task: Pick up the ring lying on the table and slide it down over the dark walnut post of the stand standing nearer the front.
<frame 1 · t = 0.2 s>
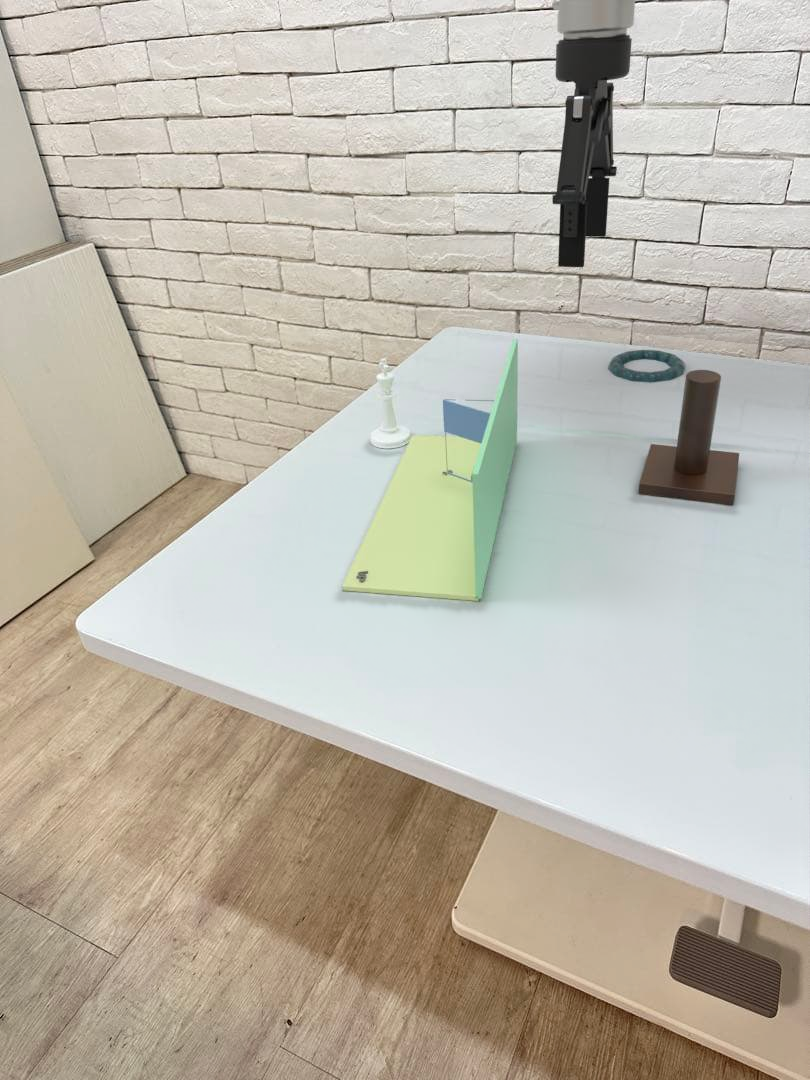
hand: (583, 250, 93), 18 cm above the table, tool pointing down, fingers open, 13 cm apart
ring: (646, 367, 105), point 1 cm above the table
stand: (689, 477, 83), on the table
display stand: (441, 508, 81), on the table
chess piece: (391, 440, 95), on the table
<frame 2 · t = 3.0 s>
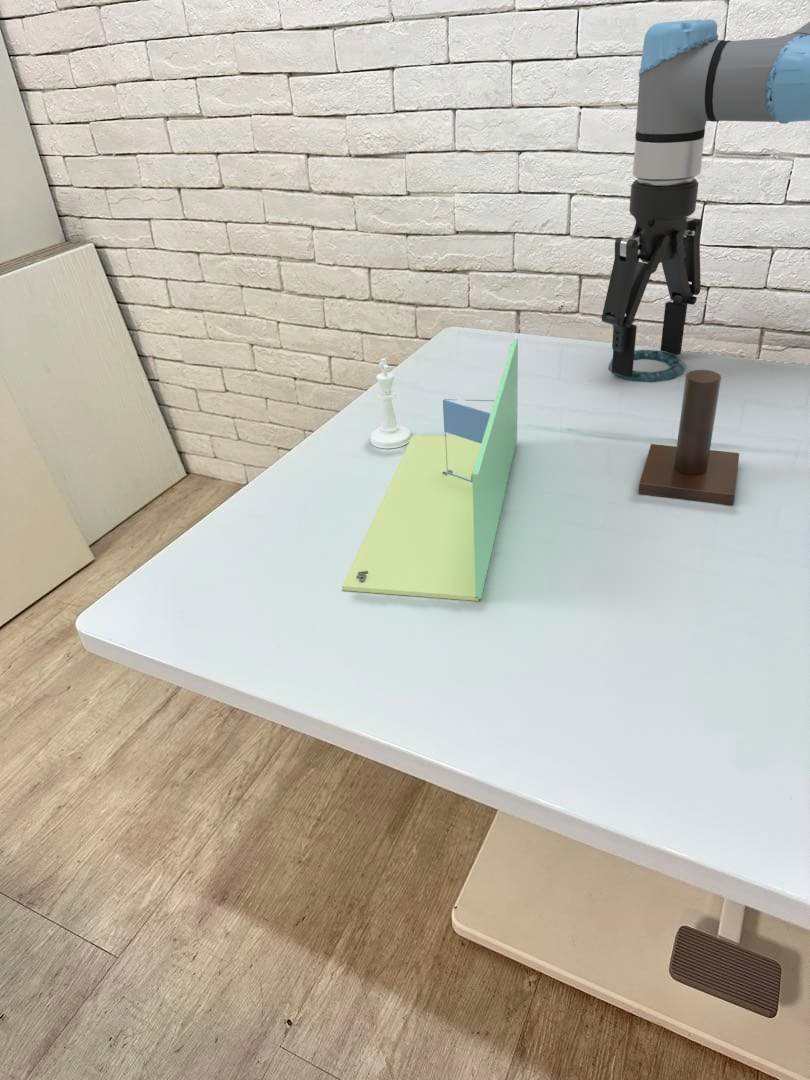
hand: (646, 362, 105), 2 cm above the table, tool pointing down, fingers closed on ring, 9 cm apart
ring: (646, 367, 105), point 1 cm above the table, touching gripper
everything else where it was.
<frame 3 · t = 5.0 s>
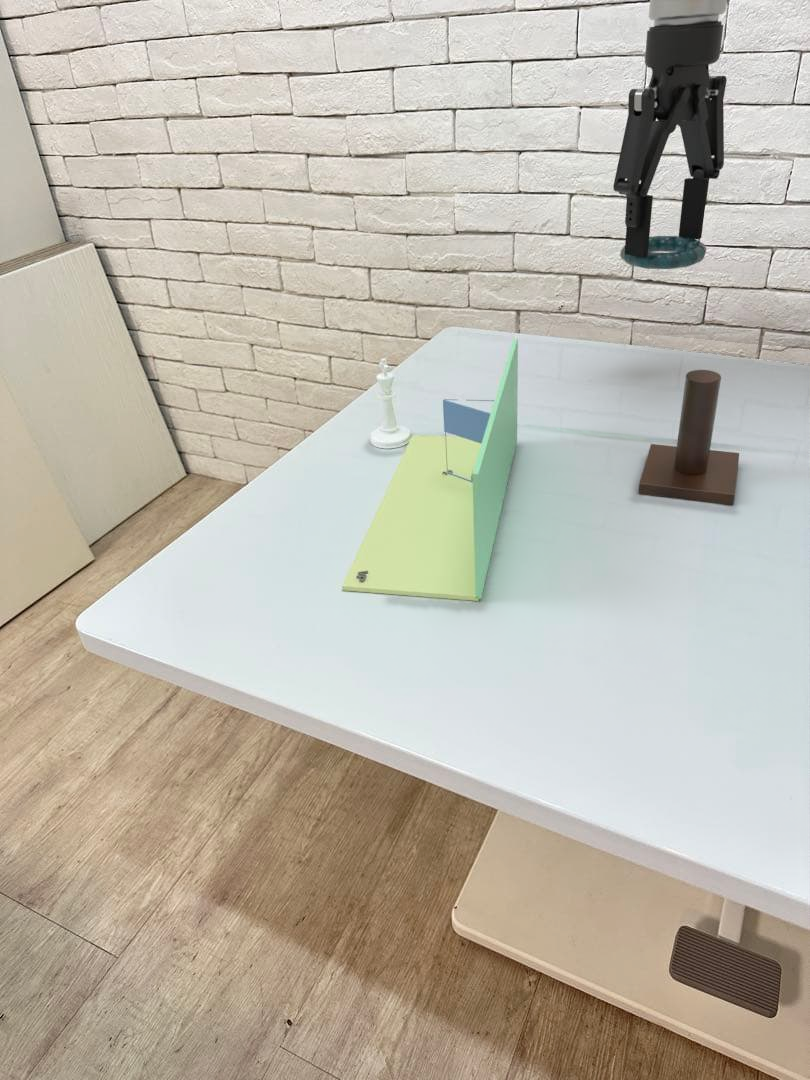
hand: (663, 246, 94), 17 cm above the table, tool pointing down, fingers closed on ring, 9 cm apart
ring: (662, 252, 95), point 16 cm above the table, touching gripper
everything else where it was.
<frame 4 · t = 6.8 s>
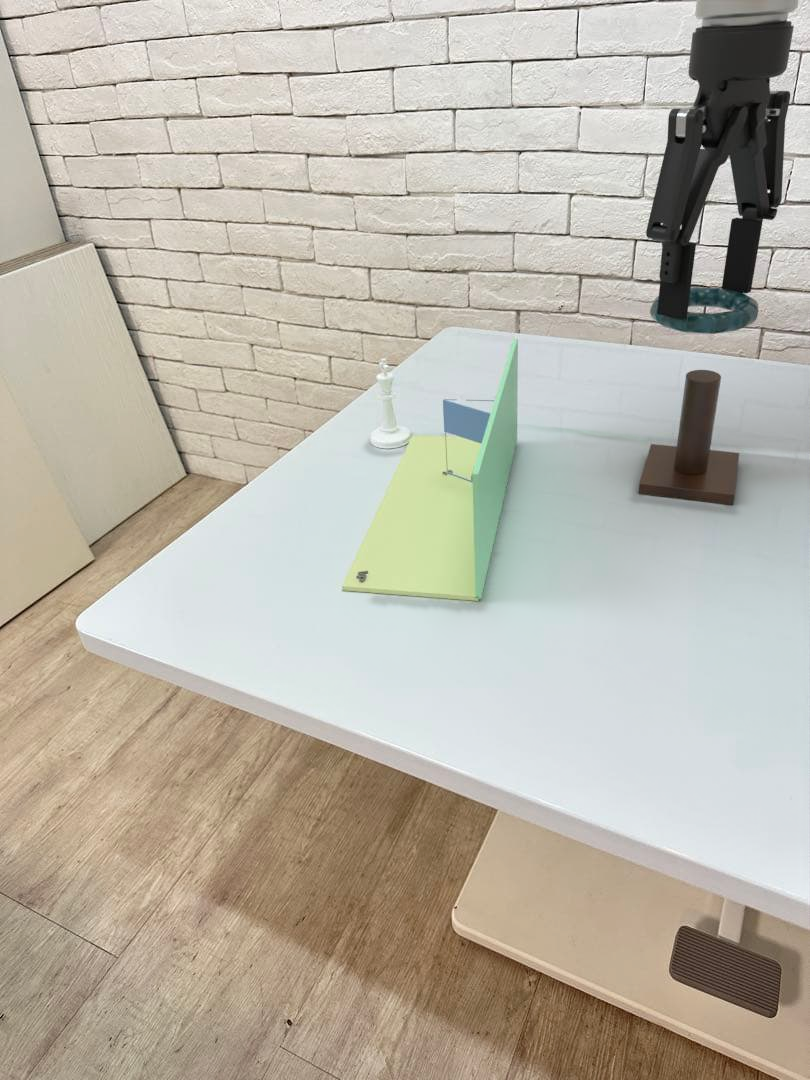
hand: (704, 302, 75), 17 cm above the table, tool pointing down, fingers closed on ring, 9 cm apart
ring: (703, 309, 76), point 17 cm above the table, touching gripper
everything else where it was.
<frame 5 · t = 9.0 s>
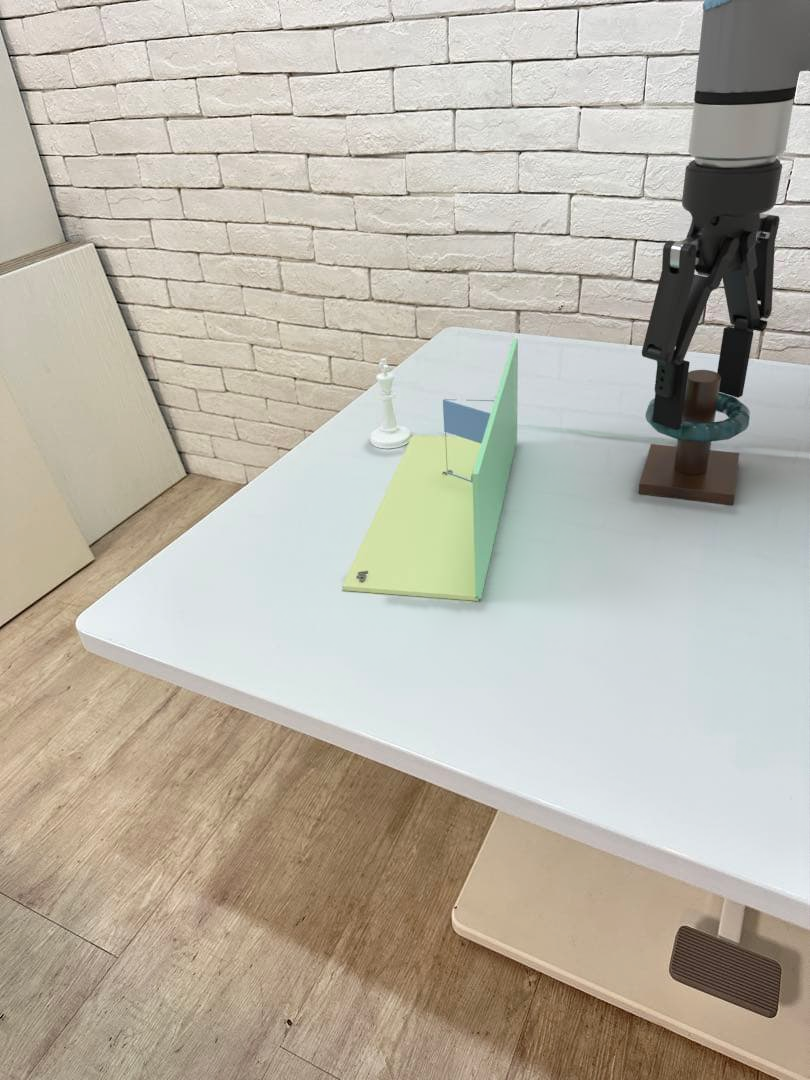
hand: (698, 408, 78), 8 cm above the table, tool pointing down, fingers closed on ring, 9 cm apart
ring: (697, 414, 79), point 7 cm above the table, touching gripper
everything else where it was.
when the fingers open (4 cm above the table, at t = 10.8 s): ring stays where it is, resting on stand.
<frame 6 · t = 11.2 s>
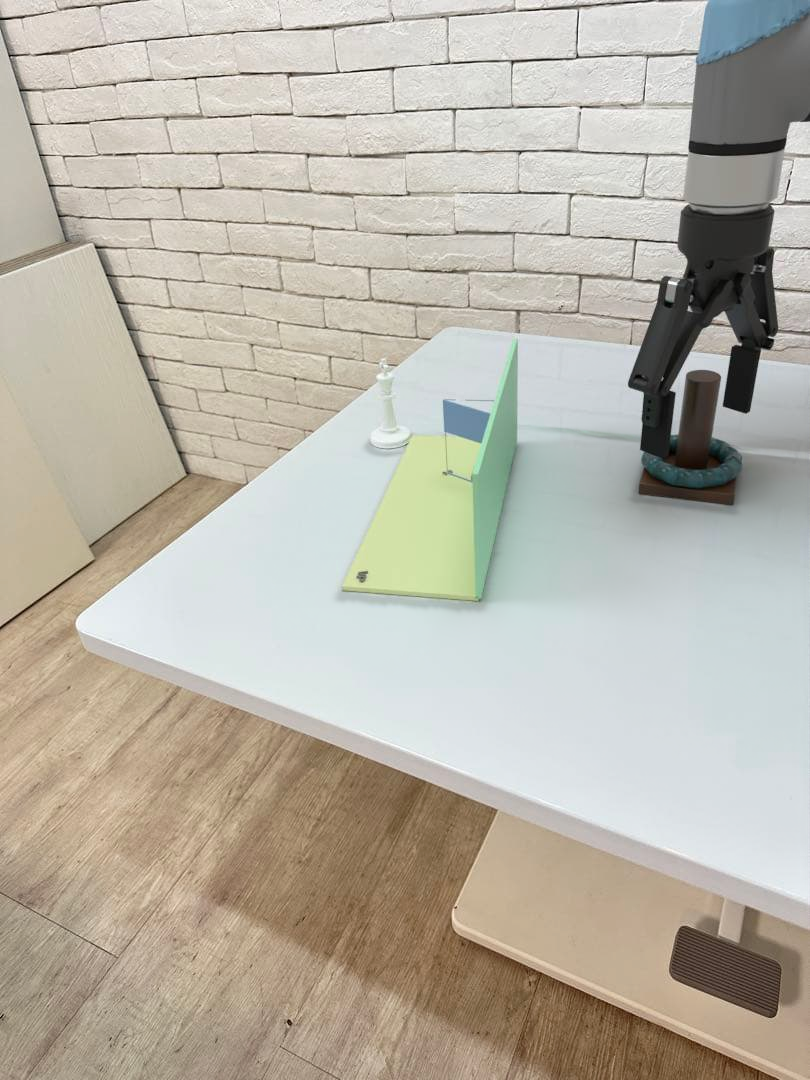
hand: (696, 430, 80), 5 cm above the table, tool pointing down, fingers open, 13 cm apart
ring: (691, 459, 81), point 2 cm above the table, touching stand
everything else where it was.
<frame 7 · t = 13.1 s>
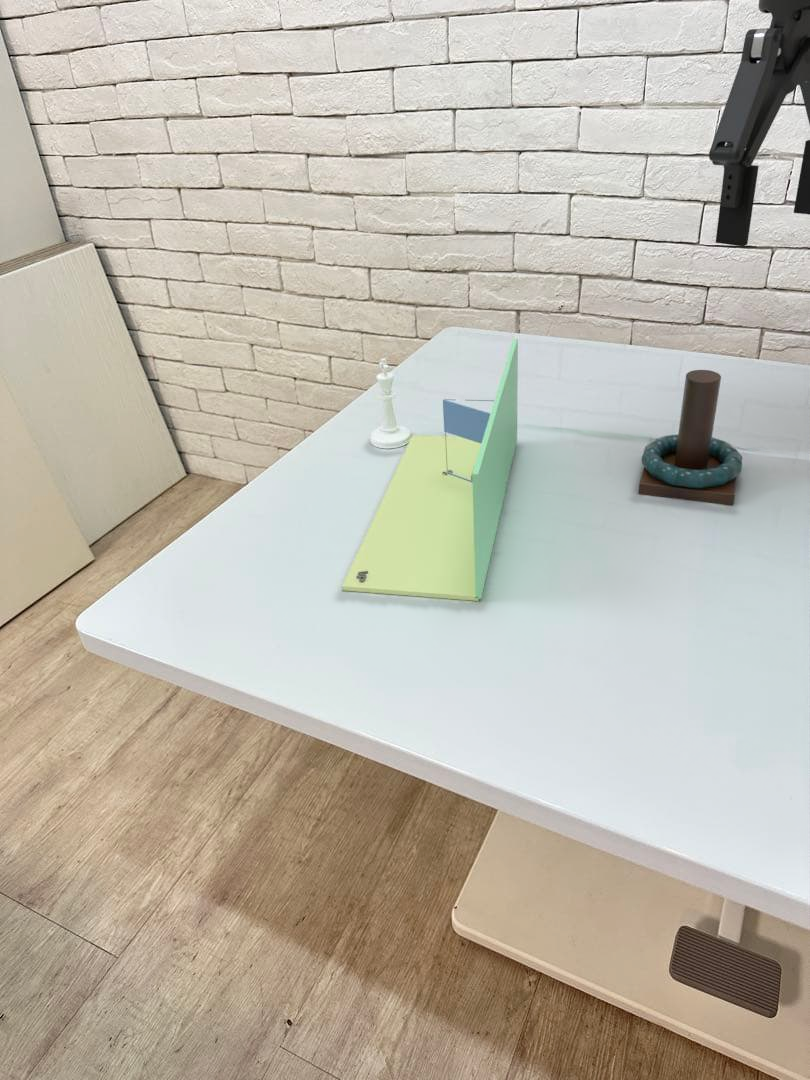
hand: (771, 228, 76), 23 cm above the table, tool pointing down, fingers open, 13 cm apart
nothing on the table moved.
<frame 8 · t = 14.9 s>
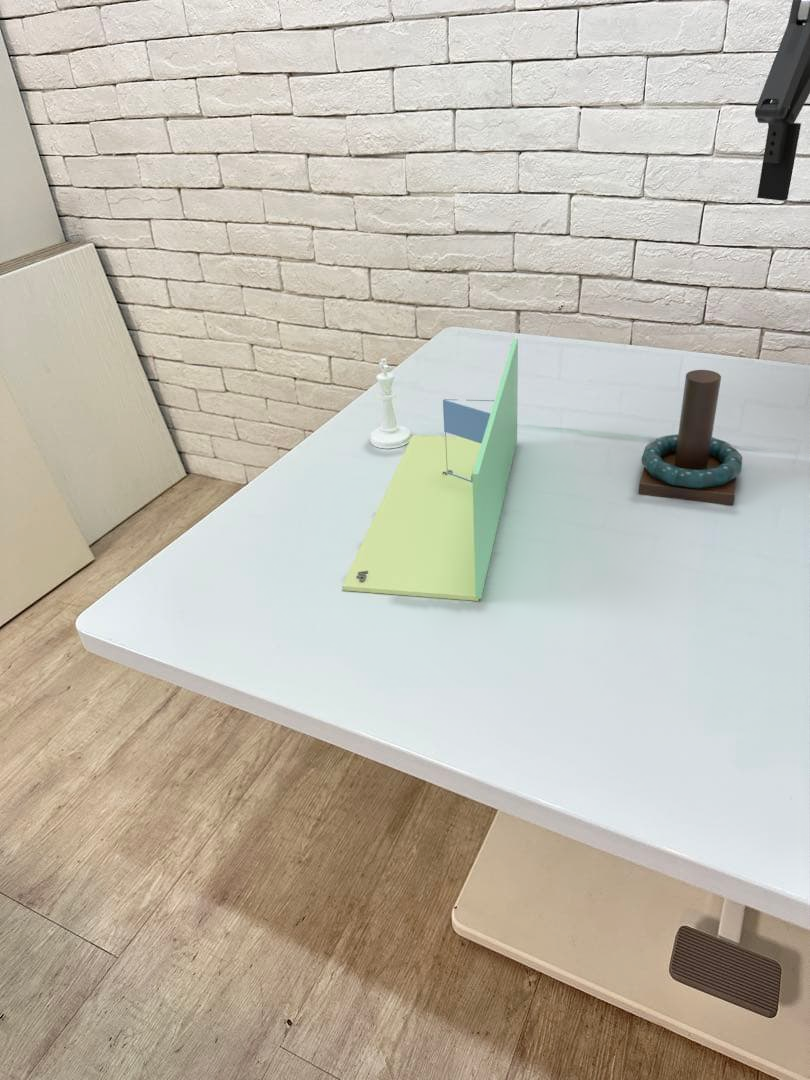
hand: (809, 186, 80), 25 cm above the table, tool pointing down, fingers open, 13 cm apart
nothing on the table moved.
at the end: ring 0.0 cm from the stand (horizontally); ring point 2.1 cm above the table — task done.
